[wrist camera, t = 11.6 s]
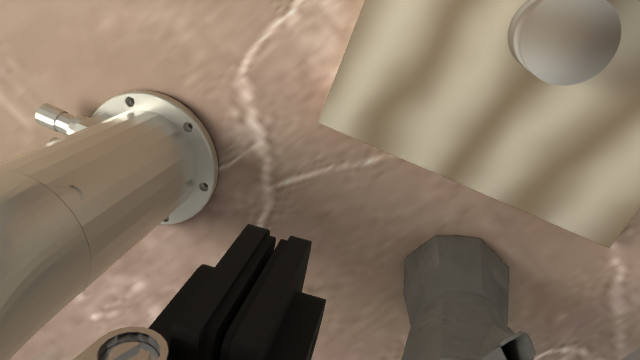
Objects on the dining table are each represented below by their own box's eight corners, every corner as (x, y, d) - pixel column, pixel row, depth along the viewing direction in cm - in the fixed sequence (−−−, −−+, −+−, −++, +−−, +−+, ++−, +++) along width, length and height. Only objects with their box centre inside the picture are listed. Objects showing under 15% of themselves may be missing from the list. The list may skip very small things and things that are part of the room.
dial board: (322, 116, 38) (317, 123, 36) (462, -242, 28) (464, -259, 26) (600, 235, 37) (610, 249, 35) (847, -93, 27) (880, -99, 25)
